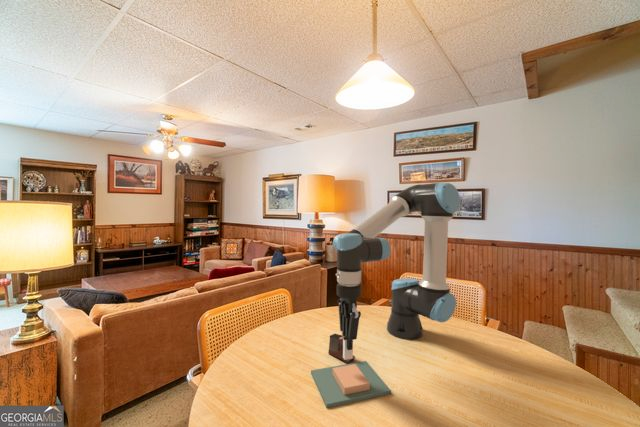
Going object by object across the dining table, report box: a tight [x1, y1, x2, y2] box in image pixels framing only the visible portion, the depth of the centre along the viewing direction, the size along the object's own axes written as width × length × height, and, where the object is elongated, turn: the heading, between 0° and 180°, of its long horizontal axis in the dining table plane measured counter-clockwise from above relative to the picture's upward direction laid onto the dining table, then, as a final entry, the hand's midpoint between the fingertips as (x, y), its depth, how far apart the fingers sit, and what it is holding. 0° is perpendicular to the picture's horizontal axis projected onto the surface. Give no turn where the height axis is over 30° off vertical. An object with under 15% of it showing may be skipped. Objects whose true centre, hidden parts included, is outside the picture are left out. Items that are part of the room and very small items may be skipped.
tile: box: [332, 364, 370, 395], centre depth 83 cm, size 8×2×10 cm
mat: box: [310, 360, 392, 409], centre depth 84 cm, size 20×16×1 cm
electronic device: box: [328, 333, 356, 364], centre depth 99 cm, size 4×10×8 cm, turn 45°
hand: (347, 357), depth 85 cm, fingers closed
